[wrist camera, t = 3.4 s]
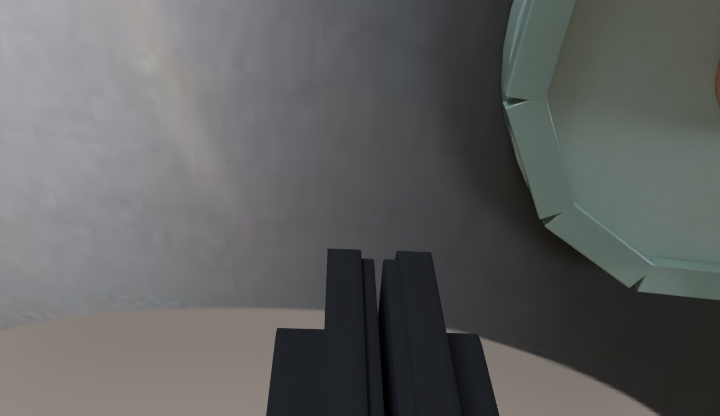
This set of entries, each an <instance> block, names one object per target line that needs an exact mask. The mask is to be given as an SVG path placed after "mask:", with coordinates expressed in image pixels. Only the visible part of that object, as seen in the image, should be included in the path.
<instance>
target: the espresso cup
mask: <svg viewBox="0 0 720 416" xmlns="http://www.w3.org/2000/svg"><path fill="white" fill-rule="evenodd" d="M716 96H717V101H718V104H719V107H720V60H719V63H718V67H717V72H716Z"/></svg>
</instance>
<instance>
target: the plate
mask: <svg viewBox="0 0 720 416" xmlns="http://www.w3.org/2000/svg"><path fill="white" fill-rule="evenodd" d="M719 60H720V0H514V1H513V4H512V7H511V11H510V16H509V21H508V26H507V31H506V36H505V41H504V46H503V60H502V76H501V88H502V101H503V115H504V120H505V124H506V128H507V133H508V137H509V141H510V146H511V148H512V151H513V153H514V156H515V158H516V161H517V163H518V166H519V168H520V171H521V173H522V176H523V178H524V180H525V182H526V185H527V187H528V189H529V191H530V195H531V198H532V201H533V204H534V208H535V211H536V213H537V216H538V218H539V219H542V221H543V223H544V226H545V227H546V228H547V229H548V230H550V231H551V232H552V233H554V234H555V235H557V236H558V237H559V238H561V239H562V240H563V241H565V242H566V243H567V244H569V245H570V246H572V247H573V248H574V249H576V250H577V251H578V252H580V253H581V254H583V255H584V256H585V257H587V258H588V259H589V260H591V261H592V262H594V263H595V264H596V265H598V266H599V267H600V268H602V269H603V270H604V271H606V272H607V273H609V274H610V275H611V276H613V277H614V278H615V279H617V280H618V281H620V282H621V283H622V284H624V285H625V286H626V287H628V288H630V287H631V286H633V285H634V286H635V288H636V290H637V291H638V292H646V293H656V294H665V295H675V296H684V297H694V298H703V299H713V300H720V107H719V104H718V101H717V96H716V72H717V67H718V63H719Z"/></svg>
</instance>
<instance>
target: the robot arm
mask: <svg viewBox="0 0 720 416" xmlns="http://www.w3.org/2000/svg"><path fill="white" fill-rule="evenodd" d="M266 416H499V413H498V409H497V404H496V400H495V396H494V392H493V388H492V384H491V380H490V377H489V372H488V368H487V364H486V360H485V356H484V352H483V348H482V344H481V341H480V338H479V336H478V335H477V334H464V333H446V328H445V323H444V317H443V312H442V307H441V302H440V296H439V291H438V286H437V280H436V275H435V270H434V264H433V259H432V255H431V253H430V252H411V251H397V252H396V257H395V260H386V259H384V261H383V268H382V278H381V289H380V300H379V310H378V314H377V299H376V284H375V269H374V259H361V250H353V249H328V255H327V279H326V304H325V329H323V330H322V329H290V328H289V329H288V328H277V331H276V339H275V346H274V355H273V364H272V372H271V380H270V389H269V397H268V405H267V415H266Z"/></svg>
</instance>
